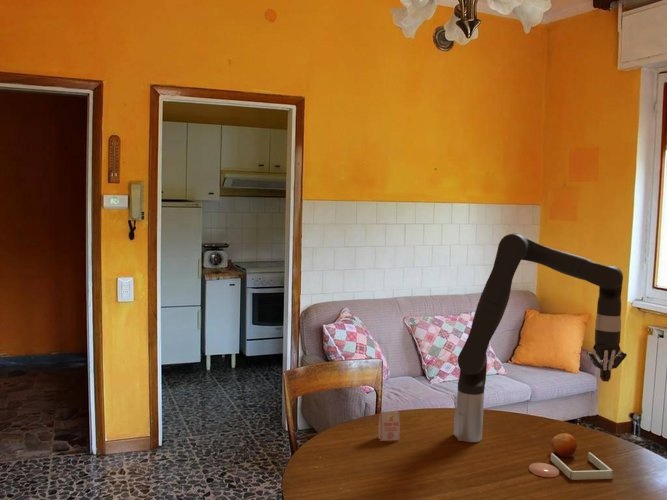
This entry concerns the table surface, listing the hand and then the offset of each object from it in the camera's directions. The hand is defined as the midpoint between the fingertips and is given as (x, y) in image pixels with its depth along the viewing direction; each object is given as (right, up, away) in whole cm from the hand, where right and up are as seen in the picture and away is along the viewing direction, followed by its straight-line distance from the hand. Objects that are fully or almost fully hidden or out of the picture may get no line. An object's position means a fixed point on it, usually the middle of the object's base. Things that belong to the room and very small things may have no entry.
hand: (604, 380), depth 200 cm
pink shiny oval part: (-21, -28, -5) cm, 35 cm away
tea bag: (-69, -24, +17) cm, 75 cm away
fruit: (-10, -27, +9) cm, 30 cm away
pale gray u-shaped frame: (-9, -28, -3) cm, 29 cm away
